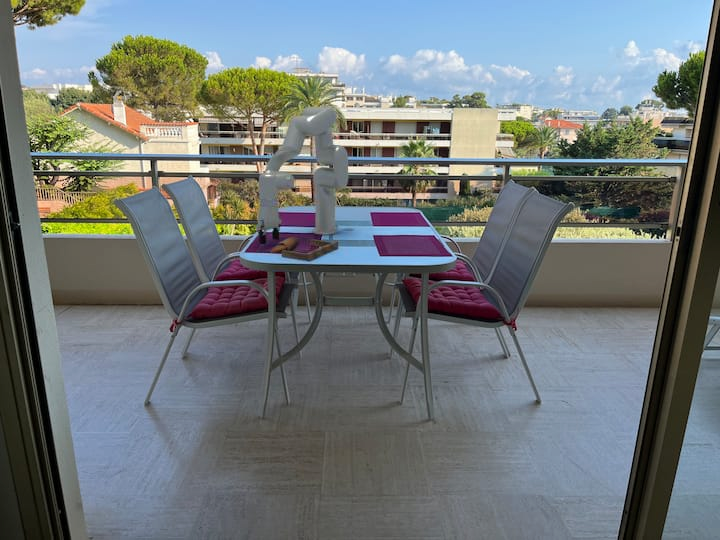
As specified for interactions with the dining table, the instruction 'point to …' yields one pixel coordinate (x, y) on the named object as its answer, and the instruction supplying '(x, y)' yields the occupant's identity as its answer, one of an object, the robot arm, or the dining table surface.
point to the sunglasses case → (285, 245)
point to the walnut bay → (324, 249)
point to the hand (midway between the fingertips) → (269, 241)
